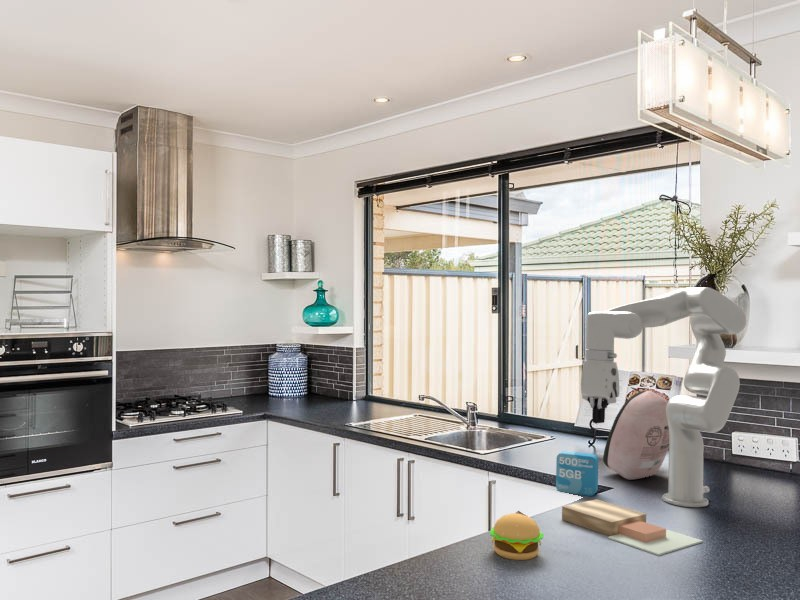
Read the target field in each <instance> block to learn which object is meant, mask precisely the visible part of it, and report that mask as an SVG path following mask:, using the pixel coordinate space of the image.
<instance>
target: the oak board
mask: <svg viewBox="0 0 800 600" xmlns="http://www.w3.org/2000/svg"><path fill="white" fill-rule="evenodd" d="M561 520H562V521H565V522H567V523H570V524H574V525H576V526H580V527H582V528H586V529H588V530H591V531H595V532H597V533H600V534H603V535H606V536H608V537H609V536H613V535H617V534H619V533H618V525H621V524H626V523H630V522H634V521H638V520H639V521H642V522H645V523H647V513H644V512H642V511H638V510H634V509H632V508H627V507H624V506H621V505H617V504H614V503H610V502H607V501H603V500H601V499H592V500H587V501H582V502H577V503H572V504H567V505H562V507H561Z"/></svg>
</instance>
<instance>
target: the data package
mask: <svg viewBox="0 0 800 600" xmlns="http://www.w3.org/2000/svg"><path fill="white" fill-rule="evenodd" d="M555 466H556V468H555V477H556V478H555V488H556V490H557V491H558V492H559V493H564V494H565V493H566V494H572V495H580V496H585V497H586V496H587V497H588V496H589V497H593V496H594V495H596V493H597V492H598V488H599V457H598V455H596V454H594V453H586V452H576V451H570V450H567V451H566V450H563V451H560V452H559V453H558V454H557V456H556V465H555Z"/></svg>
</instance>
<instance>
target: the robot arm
mask: <svg viewBox="0 0 800 600" xmlns="http://www.w3.org/2000/svg"><path fill="white" fill-rule="evenodd" d="M688 317H689V323H690V326H691V329H692V331H693V334H694V337H695V340H696V346H695V350H694V353H693V355H692V358H691V359H690V363H689V364H688V367H687V370H686V372H685V375H684V379H683V387H684V388H685V390H686V391H687V392H689V393H691V394H694V395H688V394H679V395H678V394H677V395H675V396H673V397H671V398H670V399H669V400H668V401H667V406H666V416H667V421H668V427H669V448H668V482H667V483H668V488H667V490H668V491H667V492H666V493H663V495H662V500H663V501H664V502H666V503H668V504H671V505H674V506H675V505H676V506H679V507H686V508H703V507H707V506H708V505H709V499H707V498H706V497H704V494H706V493H709V492H710V487H709V486H708V485H704V450H705V448H704V447H705V446H704V445H705V444H704V439H703V436H702V433H701V431H702V432H706V433H718V432H719V431H721V430H722V429H723V428H724V427H725V425H726V423H727V421H728V419H729V417H730V414H731V412H732V409H733V407H734V404H735V402H736V399H737V396H738V394H739V391H740V385H741V383H740V376H739V373H738V372H737V371H736V369H734V368H733V367H731V366H728V365H724V363H725V362H724V361H725V359H726V355H727V349H726V347H725V344H724V342H723V340H722V336H721V335H736V334H740V333H741V332H742V331H743V330H744V329H745V327H746V325H747V317H746V313H745V312H744V309H742V308H741V307H740V306H739V305H738V304H736V303H735V302H733V301H732V300H731V299H730V298H728V297H726V295H724V294H723V293H721V292H720V291H718V290H716V289H714V288H712V287H708V286H707V287H706V286H705V287H704V286H703V287H701V286H699V287H698V286H697V287H695V286H694V287H683V288H679V289H676V290H672V291H669V292H668V293H664V294H662V295H659V296H656V297H653V298H648V299H643V300H640V301H636V302H632V303H628V304H623V305H619V306H616V307H612V308H610V309H608V310H607V309H606V310H604V311H591V312H589V313H587V315H586V325H585V326H586V327H585V328H586V329H585V330H586V332H585V333H586V335H585V360H583V364H582V365H583V366H582V369H581V379H580V381H581V382H580V392H581V394H582V396H581V398H582V399H583V400H584V401H587V402H588V403H589V405H590V409H591V408H592V415H591V416H592V420H591V421H592V423H594V424H604V423H605V422H606V421H605V419H606V417H605V416H606V409H608V406H609V405H610V404H616V403H617V398H619V396H620V377H619V368H618V364H617V362H616V361H615V359H617V357H618V354H617V353H615V339H625V340H629V339H630V340H631V339H634V338H636V337H638V336H639V335H640V334H641V333H642V332H643V330H644V328H657V327H658V328H659V327H663V326H667V325H668V324H672V323H674V322H677V321H680V320H682V319H685V318H688ZM697 395H701V396H704V397H701V396H697ZM705 396H706V397H705Z"/></svg>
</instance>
